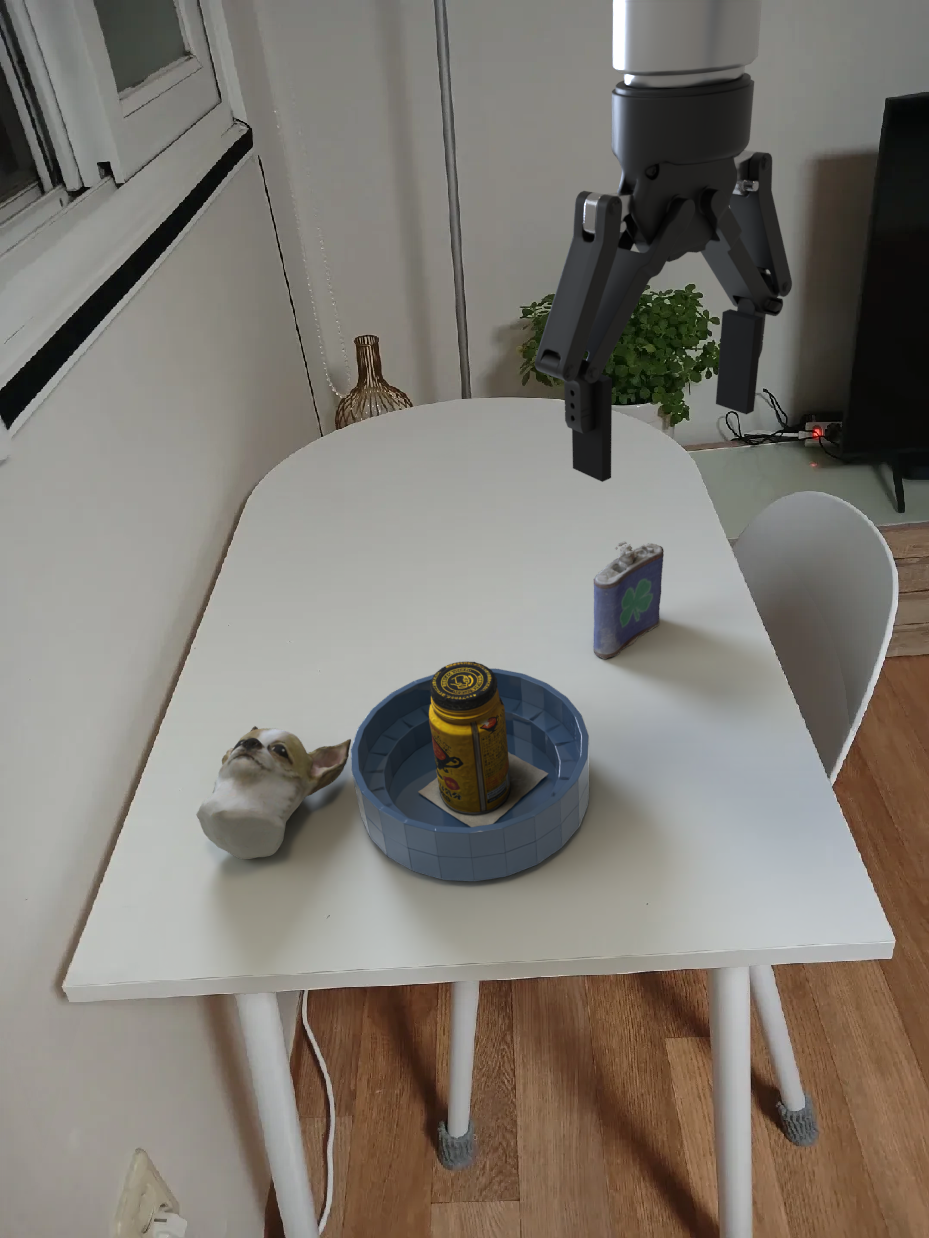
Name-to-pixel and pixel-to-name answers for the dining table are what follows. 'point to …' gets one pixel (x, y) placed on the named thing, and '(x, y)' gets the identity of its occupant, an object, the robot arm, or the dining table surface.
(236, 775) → the ceramic sculpture
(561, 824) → the basin
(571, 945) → the dining table surface
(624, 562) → the flask
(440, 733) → the condiment
